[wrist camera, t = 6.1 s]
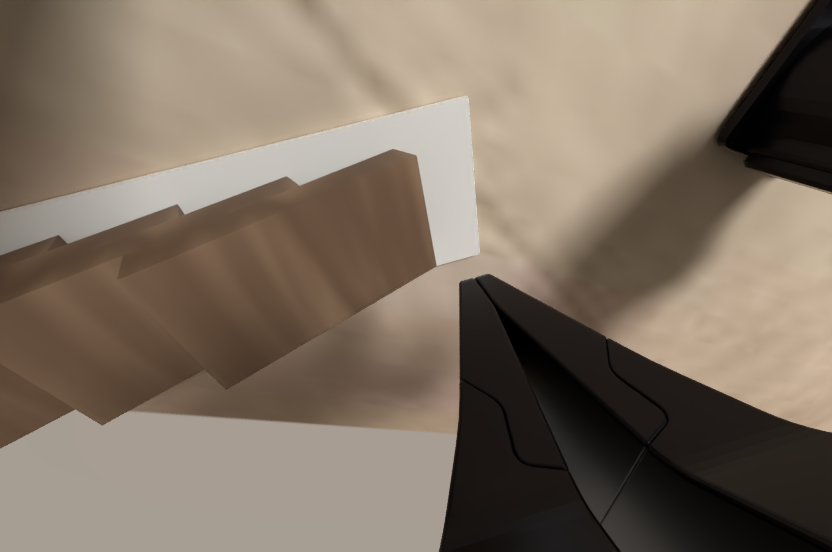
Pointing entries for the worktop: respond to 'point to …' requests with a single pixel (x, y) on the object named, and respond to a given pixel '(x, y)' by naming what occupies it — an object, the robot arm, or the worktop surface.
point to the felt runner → (295, 158)
